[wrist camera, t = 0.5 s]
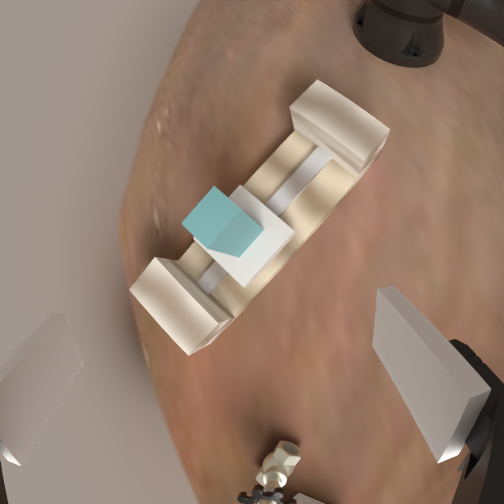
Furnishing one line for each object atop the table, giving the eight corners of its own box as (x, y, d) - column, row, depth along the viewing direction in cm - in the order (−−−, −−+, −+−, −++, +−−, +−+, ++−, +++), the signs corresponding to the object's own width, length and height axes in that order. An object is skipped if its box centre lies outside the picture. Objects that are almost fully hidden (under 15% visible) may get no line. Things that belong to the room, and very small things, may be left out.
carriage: (246, 191, 37) (210, 149, 25) (296, 234, 36) (283, 210, 23) (202, 241, 38) (147, 223, 25) (249, 286, 36) (212, 290, 24)
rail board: (316, 111, 39) (314, 77, 31) (378, 157, 37) (390, 129, 29) (160, 286, 42) (127, 287, 34) (213, 342, 39) (188, 355, 32)
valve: (313, 450, 35) (308, 503, 23) (290, 481, 35) (277, 535, 24) (270, 431, 37) (251, 480, 25) (249, 463, 37) (225, 513, 25)
